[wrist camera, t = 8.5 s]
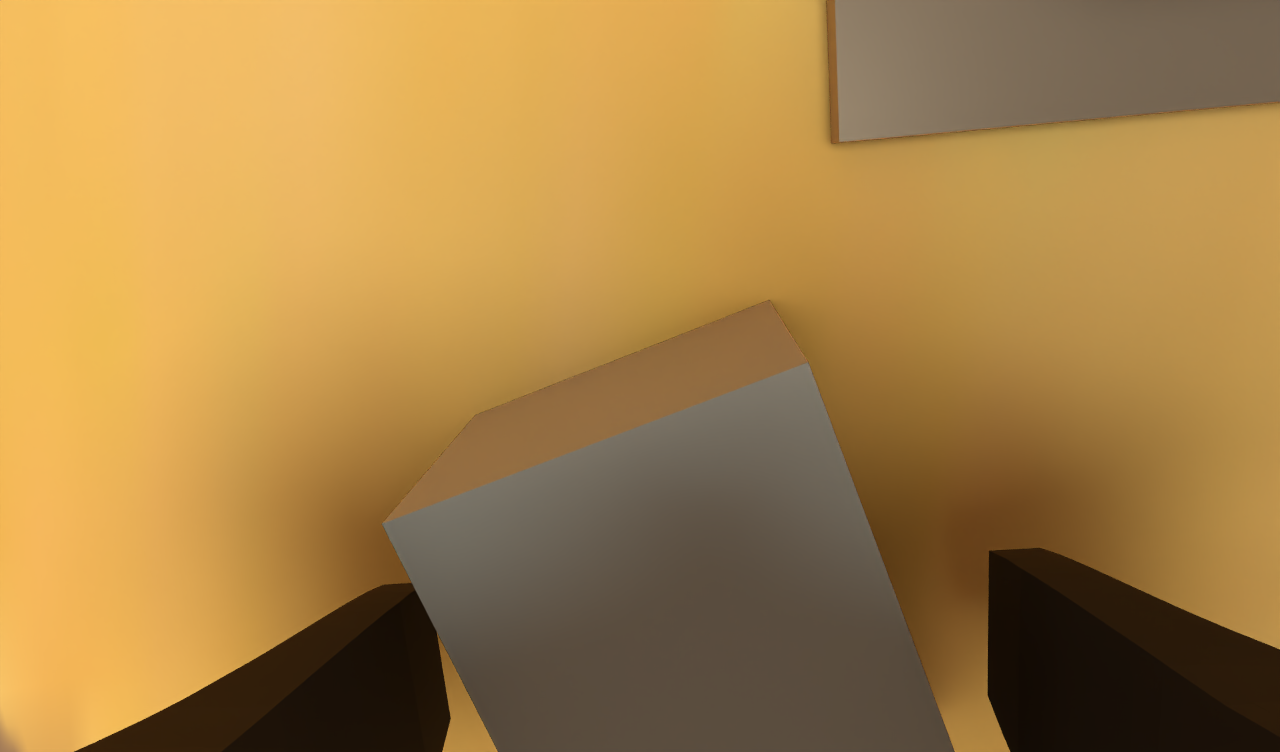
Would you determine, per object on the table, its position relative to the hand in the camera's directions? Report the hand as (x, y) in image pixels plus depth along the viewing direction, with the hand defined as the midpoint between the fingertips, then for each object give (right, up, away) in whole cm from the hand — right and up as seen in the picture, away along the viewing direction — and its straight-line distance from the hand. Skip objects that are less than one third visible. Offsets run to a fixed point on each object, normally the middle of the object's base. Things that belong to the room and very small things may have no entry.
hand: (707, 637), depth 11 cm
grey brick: (0, +1, +2) cm, 2 cm away
